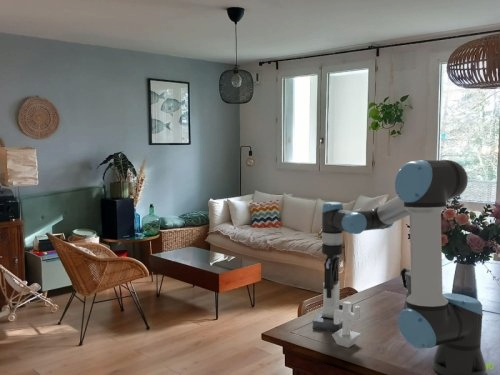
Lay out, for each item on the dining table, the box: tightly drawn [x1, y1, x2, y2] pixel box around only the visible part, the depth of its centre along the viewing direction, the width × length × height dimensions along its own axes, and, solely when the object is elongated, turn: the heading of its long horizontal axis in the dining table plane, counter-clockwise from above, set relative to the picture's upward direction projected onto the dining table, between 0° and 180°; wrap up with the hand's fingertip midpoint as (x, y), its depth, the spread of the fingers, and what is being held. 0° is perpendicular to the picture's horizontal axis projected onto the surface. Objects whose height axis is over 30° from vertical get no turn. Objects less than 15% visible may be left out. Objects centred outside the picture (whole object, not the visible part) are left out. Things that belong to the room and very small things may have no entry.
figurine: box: [331, 301, 361, 349], centre depth 171 cm, size 7×9×15 cm
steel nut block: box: [322, 281, 341, 318], centre depth 189 cm, size 5×5×13 cm
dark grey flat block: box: [312, 302, 354, 333], centre depth 195 cm, size 24×10×3 cm, turn 157°
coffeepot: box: [400, 267, 411, 309], centre depth 207 cm, size 15×9×18 cm, turn 26°
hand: (331, 303), depth 189 cm, fingers closed on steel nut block, 5 cm apart
